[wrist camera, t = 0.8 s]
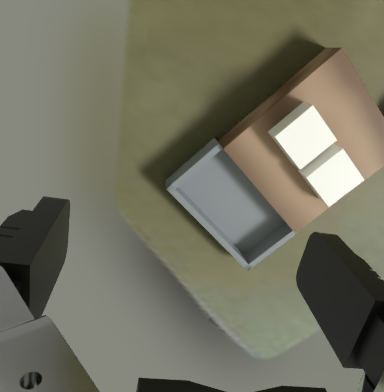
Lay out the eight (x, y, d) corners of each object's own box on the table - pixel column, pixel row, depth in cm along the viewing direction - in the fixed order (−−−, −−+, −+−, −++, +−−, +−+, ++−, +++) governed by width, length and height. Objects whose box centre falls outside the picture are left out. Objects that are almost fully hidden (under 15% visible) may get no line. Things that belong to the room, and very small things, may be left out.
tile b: (332, 142, 33) (343, 148, 31) (353, 172, 34) (364, 179, 32) (297, 170, 34) (306, 177, 32) (319, 198, 35) (328, 207, 33)
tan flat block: (325, 47, 32) (341, 47, 30) (385, 142, 37) (404, 150, 34) (217, 141, 35) (223, 148, 32) (285, 220, 39) (295, 233, 36)
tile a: (303, 101, 31) (313, 104, 29) (326, 135, 32) (337, 140, 31) (267, 132, 32) (274, 137, 30) (291, 163, 33) (300, 169, 31)
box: (214, 137, 35) (218, 143, 32) (287, 223, 39) (296, 234, 37) (165, 179, 36) (166, 188, 33) (241, 258, 40) (247, 271, 38)
